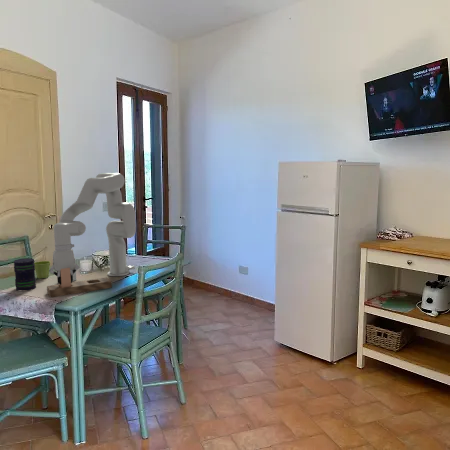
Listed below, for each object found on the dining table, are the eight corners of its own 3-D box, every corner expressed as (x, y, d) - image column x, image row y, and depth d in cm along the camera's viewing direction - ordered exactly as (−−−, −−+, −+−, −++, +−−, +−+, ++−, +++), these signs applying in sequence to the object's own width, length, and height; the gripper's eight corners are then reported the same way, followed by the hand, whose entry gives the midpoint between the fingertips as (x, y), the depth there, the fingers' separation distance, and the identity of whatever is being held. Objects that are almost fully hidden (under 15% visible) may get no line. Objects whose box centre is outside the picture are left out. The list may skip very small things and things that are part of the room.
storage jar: (16, 287, 219) (13, 259, 217) (36, 284, 223) (34, 257, 221) (15, 292, 210) (12, 263, 208) (36, 289, 214) (34, 261, 212)
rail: (106, 283, 224) (106, 277, 224) (111, 287, 217) (111, 281, 216) (47, 292, 209) (46, 286, 208) (50, 297, 201) (50, 290, 200)
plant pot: (30, 279, 235) (29, 264, 234) (41, 274, 244) (40, 260, 243) (44, 280, 233) (43, 264, 232) (55, 275, 242) (54, 261, 241)
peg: (69, 288, 212) (68, 266, 210) (71, 291, 208) (70, 267, 207) (60, 290, 210) (58, 267, 208) (62, 292, 206) (60, 268, 204)
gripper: (78, 244, 213) (80, 279, 216) (43, 248, 205) (46, 284, 207) (82, 247, 207) (84, 282, 210) (46, 250, 198) (48, 287, 201)
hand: (65, 282), depth 208 cm, fingers closed on peg, 4 cm apart
